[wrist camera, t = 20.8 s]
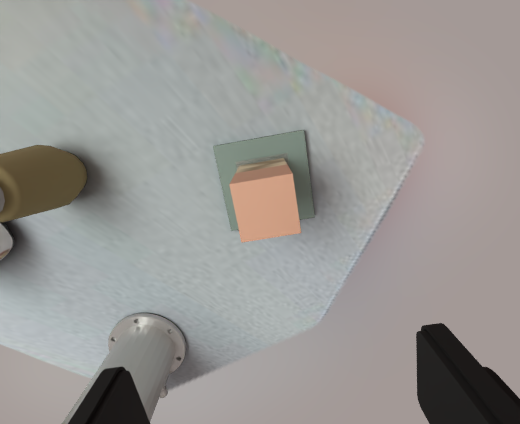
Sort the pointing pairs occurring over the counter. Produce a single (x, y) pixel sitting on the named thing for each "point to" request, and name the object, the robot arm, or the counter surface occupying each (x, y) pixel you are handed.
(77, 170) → the squeeze bottle
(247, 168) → the maple block
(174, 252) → the counter surface
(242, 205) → the terracotta block
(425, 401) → the robot arm
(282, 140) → the plate
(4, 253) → the spread jar
